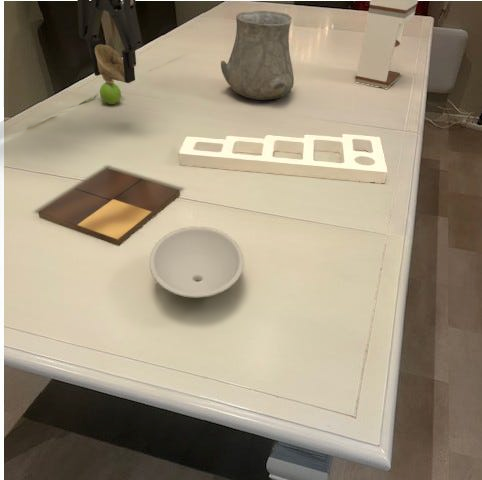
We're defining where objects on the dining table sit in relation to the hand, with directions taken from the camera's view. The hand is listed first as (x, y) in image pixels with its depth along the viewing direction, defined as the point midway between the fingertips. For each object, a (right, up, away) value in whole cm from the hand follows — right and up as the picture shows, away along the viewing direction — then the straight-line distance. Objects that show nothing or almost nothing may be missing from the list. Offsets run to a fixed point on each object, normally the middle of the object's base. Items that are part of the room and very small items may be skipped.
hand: (114, 77), depth 110 cm
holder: (+39, -18, +1) cm, 42 cm away
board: (+4, -33, -17) cm, 38 cm away
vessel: (+35, +9, +30) cm, 46 cm away
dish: (+22, -49, -33) cm, 63 cm away
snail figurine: (-7, +3, +21) cm, 22 cm away
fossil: (0, 0, 0) cm, 1 cm away
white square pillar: (+72, +19, +43) cm, 86 cm away
